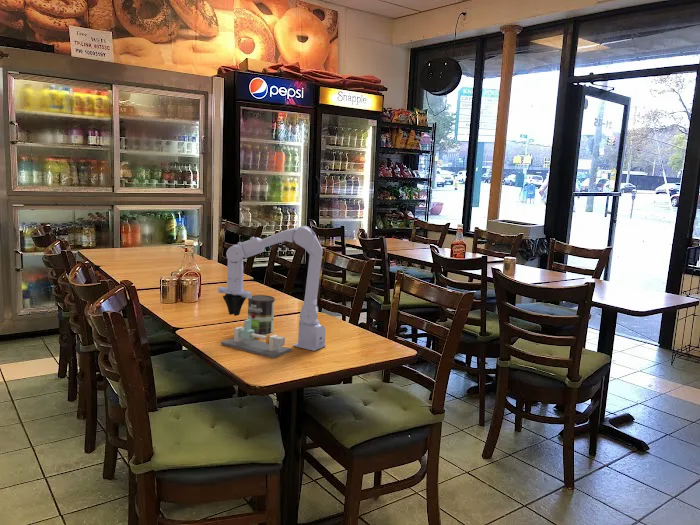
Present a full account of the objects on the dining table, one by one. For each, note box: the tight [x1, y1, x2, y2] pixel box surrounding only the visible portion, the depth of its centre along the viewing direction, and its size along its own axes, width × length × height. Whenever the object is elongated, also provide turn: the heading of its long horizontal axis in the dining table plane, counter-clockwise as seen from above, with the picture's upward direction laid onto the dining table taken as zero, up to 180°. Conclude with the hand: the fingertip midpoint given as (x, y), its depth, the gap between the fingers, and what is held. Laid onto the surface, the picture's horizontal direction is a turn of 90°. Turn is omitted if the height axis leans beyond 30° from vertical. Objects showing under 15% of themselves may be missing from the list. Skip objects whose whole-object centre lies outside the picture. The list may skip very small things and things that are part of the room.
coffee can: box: [247, 294, 276, 336], centre depth 218 cm, size 10×10×14 cm
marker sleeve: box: [240, 318, 255, 340], centre depth 201 cm, size 4×3×7 cm
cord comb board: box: [220, 325, 292, 359], centre depth 199 cm, size 24×10×6 cm, turn 60°
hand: (234, 314), depth 204 cm, fingers closed
